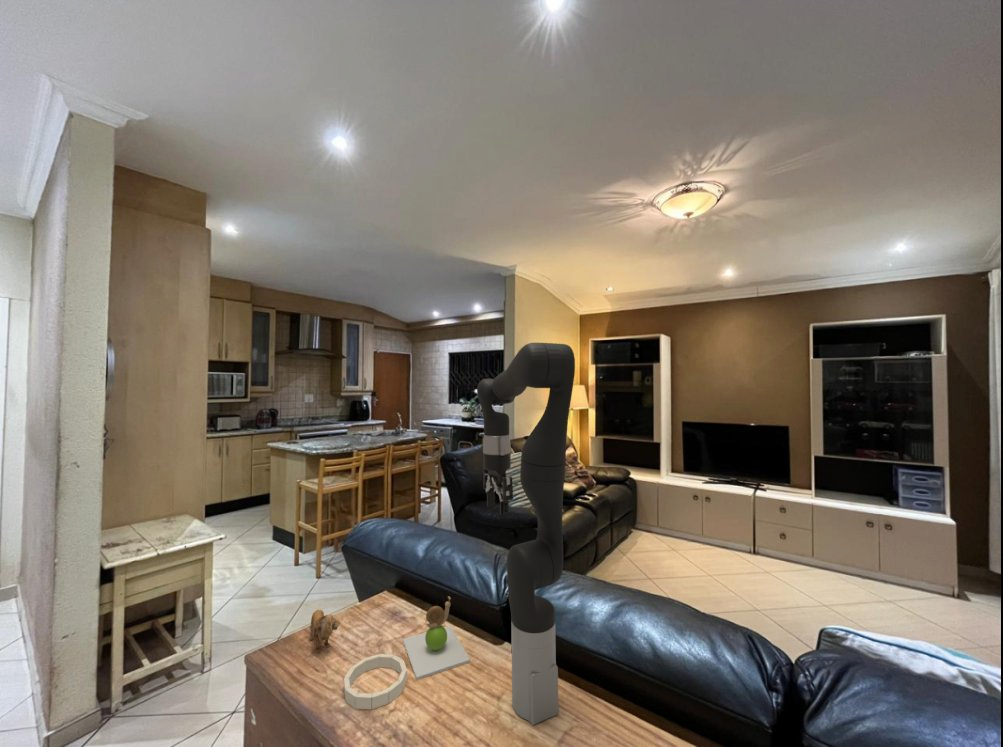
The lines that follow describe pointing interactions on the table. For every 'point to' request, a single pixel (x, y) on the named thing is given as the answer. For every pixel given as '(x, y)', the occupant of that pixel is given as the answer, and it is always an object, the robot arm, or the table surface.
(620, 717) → the table surface
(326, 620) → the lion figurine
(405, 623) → the table surface
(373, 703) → the ceramic ring
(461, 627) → the table surface
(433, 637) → the snail figurine
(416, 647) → the rubber mat
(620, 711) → the table surface
